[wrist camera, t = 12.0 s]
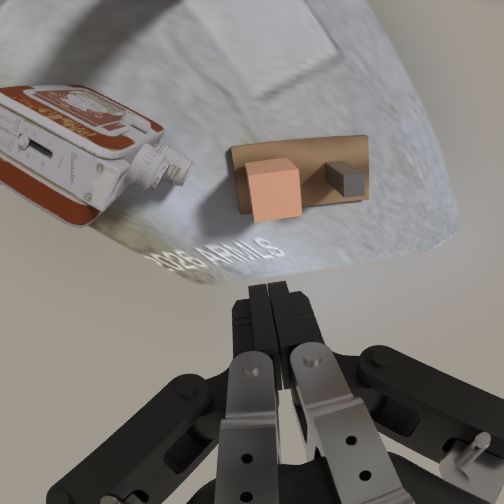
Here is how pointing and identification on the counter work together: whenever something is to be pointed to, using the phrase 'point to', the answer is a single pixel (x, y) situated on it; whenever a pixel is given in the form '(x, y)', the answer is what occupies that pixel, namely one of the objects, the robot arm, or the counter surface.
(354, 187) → the steel post
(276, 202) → the peach foam brick
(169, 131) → the counter surface
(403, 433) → the robot arm
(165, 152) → the cine camera
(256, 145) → the board
